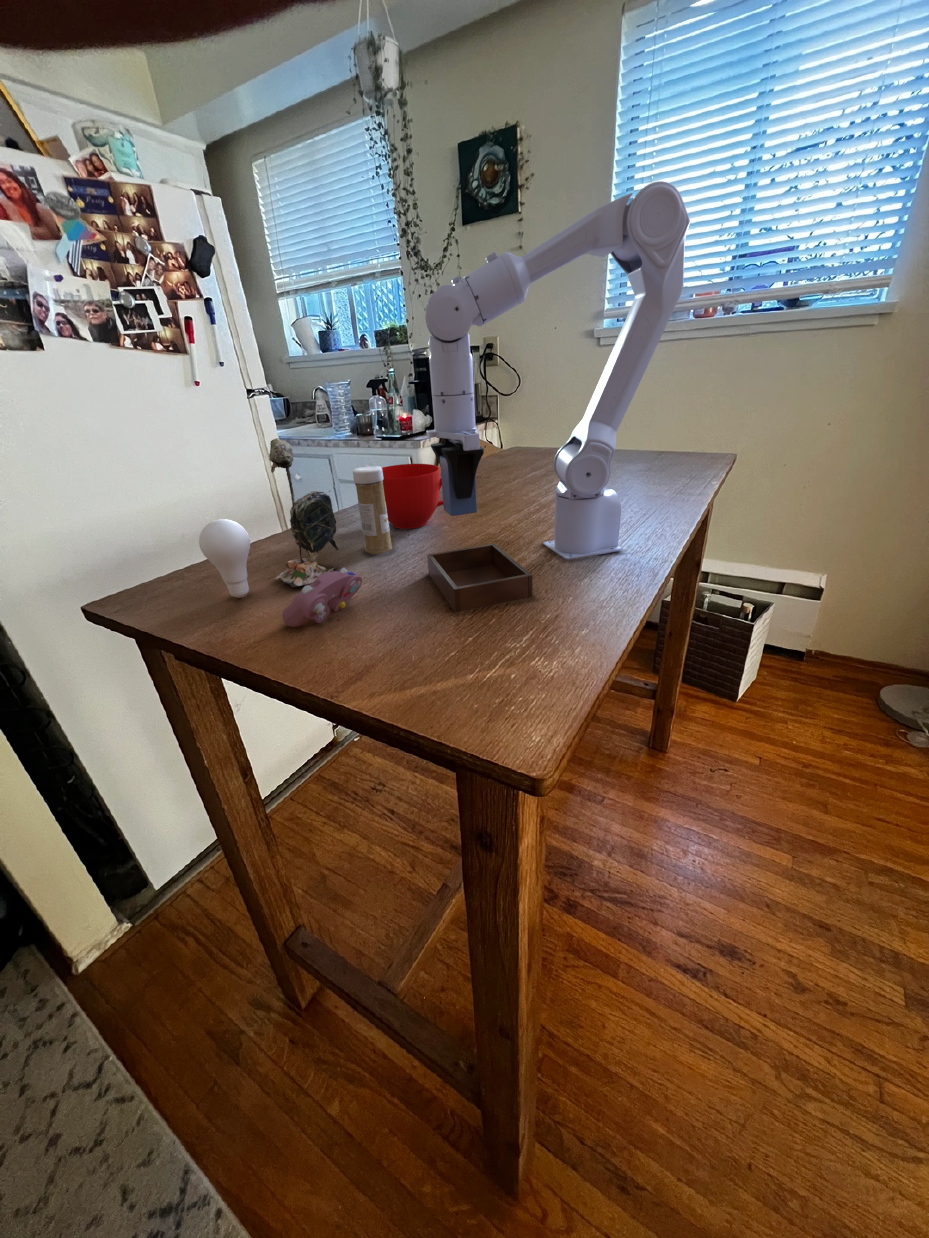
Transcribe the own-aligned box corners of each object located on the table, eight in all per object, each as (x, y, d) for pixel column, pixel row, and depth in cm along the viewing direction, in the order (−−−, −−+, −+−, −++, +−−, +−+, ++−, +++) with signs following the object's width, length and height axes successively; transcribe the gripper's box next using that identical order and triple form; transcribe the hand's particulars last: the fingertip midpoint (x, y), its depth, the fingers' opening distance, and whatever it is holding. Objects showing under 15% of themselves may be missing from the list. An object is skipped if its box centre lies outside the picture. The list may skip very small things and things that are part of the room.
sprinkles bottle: (397, 551, 83) (386, 467, 76) (372, 557, 81) (359, 472, 74) (385, 544, 86) (374, 464, 80) (360, 550, 84) (347, 468, 78)
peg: (468, 506, 78) (465, 452, 74) (477, 512, 74) (474, 456, 70) (443, 509, 77) (439, 455, 73) (451, 516, 73) (447, 460, 69)
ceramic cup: (464, 531, 90) (460, 474, 85) (370, 536, 91) (362, 480, 86) (464, 511, 101) (462, 460, 97) (382, 516, 102) (375, 465, 97)
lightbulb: (219, 611, 66) (193, 530, 61) (216, 594, 71) (191, 518, 66) (267, 599, 68) (246, 521, 63) (261, 584, 73) (241, 510, 68)
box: (495, 564, 75) (494, 543, 73) (532, 599, 64) (532, 574, 62) (429, 576, 72) (426, 554, 71) (456, 614, 61) (454, 589, 60)
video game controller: (304, 645, 60) (312, 602, 55) (277, 622, 61) (283, 579, 56) (360, 611, 67) (371, 571, 63) (336, 591, 68) (345, 551, 64)
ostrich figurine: (359, 570, 76) (337, 431, 67) (290, 594, 70) (254, 443, 60) (332, 558, 82) (308, 427, 72) (265, 579, 75) (229, 439, 66)
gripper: (412, 394, 73) (421, 487, 79) (439, 399, 61) (447, 510, 67) (458, 390, 75) (463, 482, 81) (493, 395, 63) (496, 502, 69)
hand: (459, 494), depth 74 cm, fingers closed on peg, 4 cm apart
